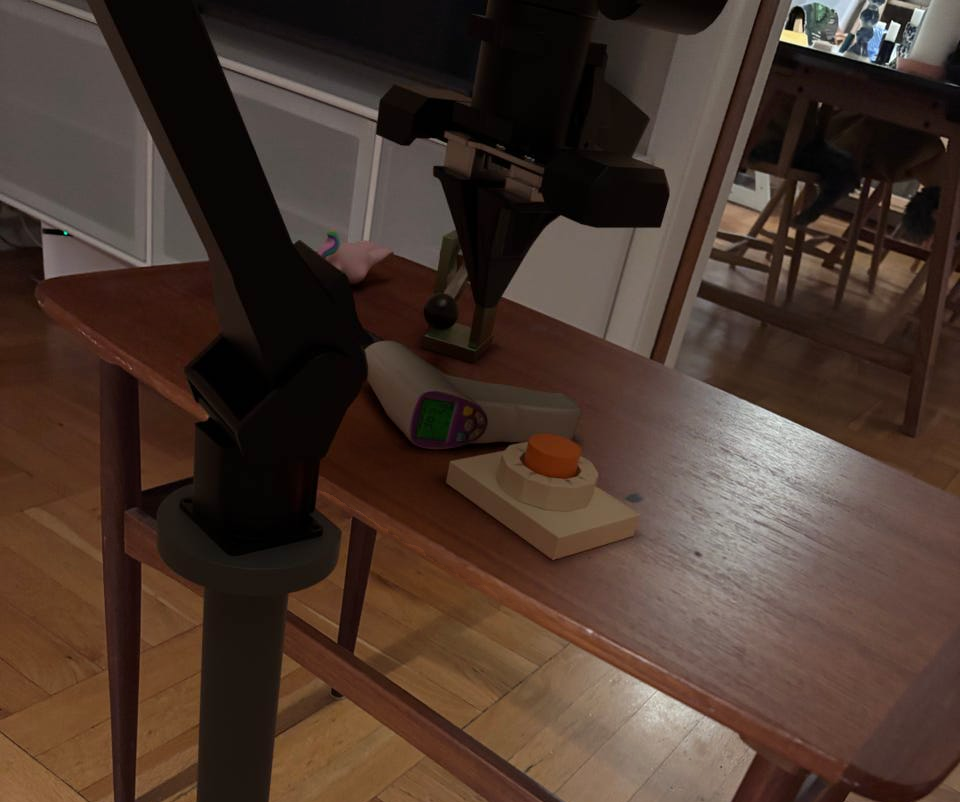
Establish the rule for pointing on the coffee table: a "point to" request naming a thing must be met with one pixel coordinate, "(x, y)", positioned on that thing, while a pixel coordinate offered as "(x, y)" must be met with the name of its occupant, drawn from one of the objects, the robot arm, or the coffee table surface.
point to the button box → (543, 502)
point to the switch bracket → (459, 337)
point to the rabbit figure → (352, 256)
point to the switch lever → (447, 300)
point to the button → (552, 456)
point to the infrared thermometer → (461, 403)
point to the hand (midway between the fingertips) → (485, 306)
